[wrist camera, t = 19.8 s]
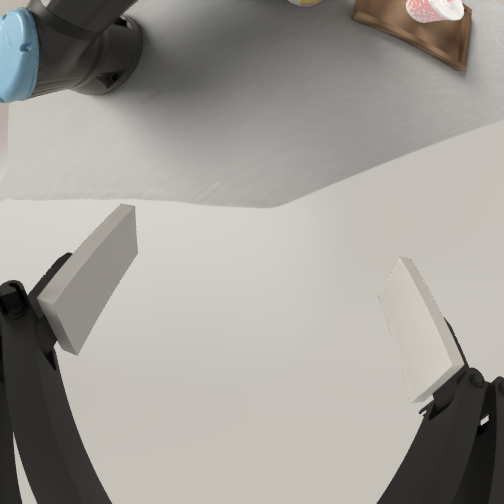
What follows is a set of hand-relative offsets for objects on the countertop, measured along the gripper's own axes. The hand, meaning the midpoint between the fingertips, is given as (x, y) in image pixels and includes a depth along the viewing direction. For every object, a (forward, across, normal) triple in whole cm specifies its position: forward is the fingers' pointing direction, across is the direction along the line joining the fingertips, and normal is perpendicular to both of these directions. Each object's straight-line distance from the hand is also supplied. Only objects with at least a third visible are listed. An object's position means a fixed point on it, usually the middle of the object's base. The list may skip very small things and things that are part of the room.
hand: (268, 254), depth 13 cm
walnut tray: (+32, +18, +29) cm, 47 cm away
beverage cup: (+31, +18, +29) cm, 46 cm away
